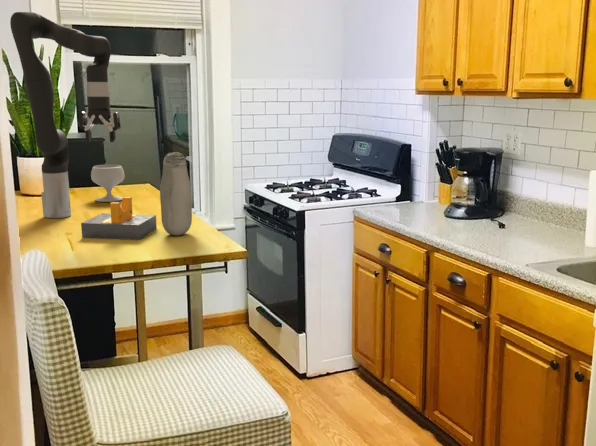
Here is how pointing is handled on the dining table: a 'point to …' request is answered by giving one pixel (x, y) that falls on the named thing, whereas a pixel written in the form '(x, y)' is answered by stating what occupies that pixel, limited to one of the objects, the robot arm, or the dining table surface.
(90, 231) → the steel riser
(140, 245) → the dining table surface
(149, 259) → the dining table surface
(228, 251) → the dining table surface
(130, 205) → the pipe clamp
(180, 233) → the grey bottle
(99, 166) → the chalice
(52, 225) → the dining table surface
